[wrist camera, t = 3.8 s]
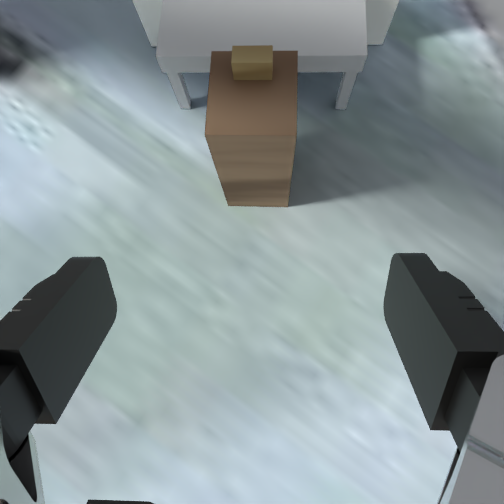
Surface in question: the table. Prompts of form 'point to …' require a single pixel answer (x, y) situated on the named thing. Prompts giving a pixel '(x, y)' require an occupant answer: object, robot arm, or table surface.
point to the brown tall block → (253, 123)
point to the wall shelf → (265, 34)
